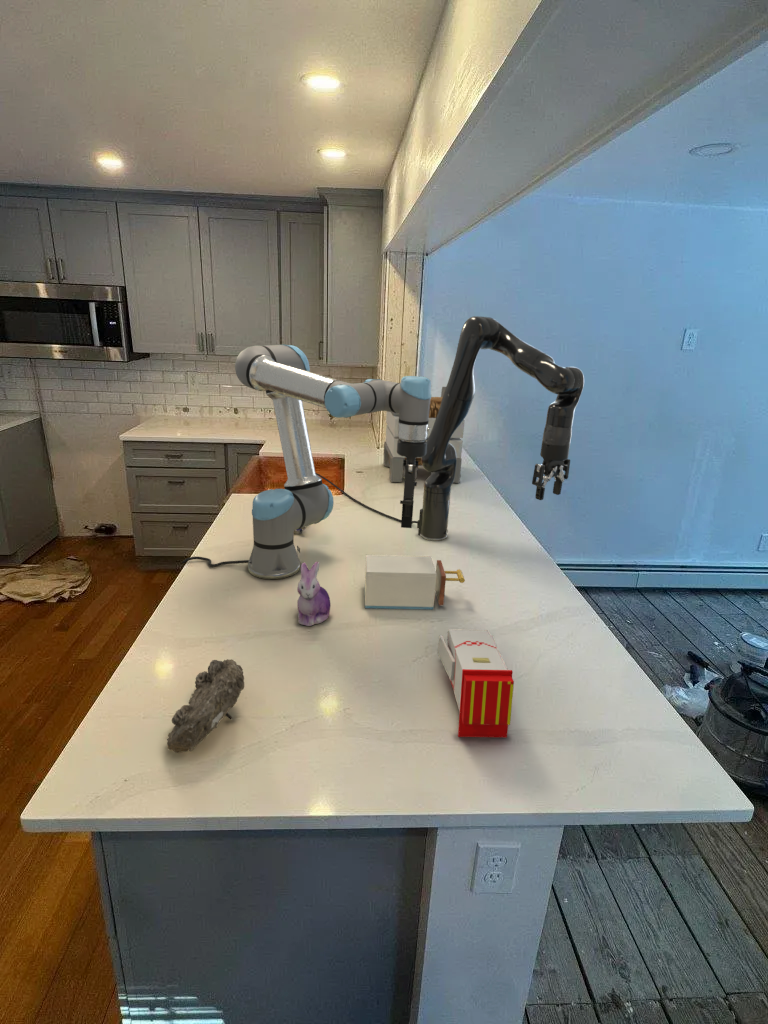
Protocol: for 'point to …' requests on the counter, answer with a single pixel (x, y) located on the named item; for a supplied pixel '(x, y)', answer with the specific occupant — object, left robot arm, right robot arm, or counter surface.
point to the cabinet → (399, 582)
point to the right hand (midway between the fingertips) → (547, 496)
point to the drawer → (444, 580)
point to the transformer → (396, 460)
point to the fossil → (206, 705)
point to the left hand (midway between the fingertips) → (407, 518)
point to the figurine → (312, 597)
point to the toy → (478, 682)
